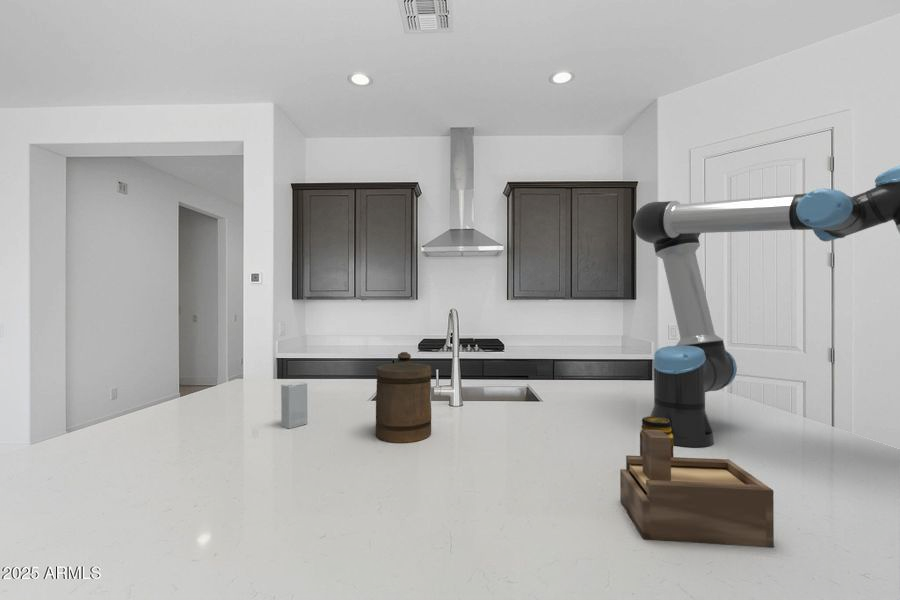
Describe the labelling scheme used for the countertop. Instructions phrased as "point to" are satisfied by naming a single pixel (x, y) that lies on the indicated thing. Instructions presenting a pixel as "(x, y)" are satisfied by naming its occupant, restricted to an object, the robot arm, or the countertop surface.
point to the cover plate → (689, 475)
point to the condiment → (656, 428)
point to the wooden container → (403, 401)
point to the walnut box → (700, 506)
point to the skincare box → (294, 404)
